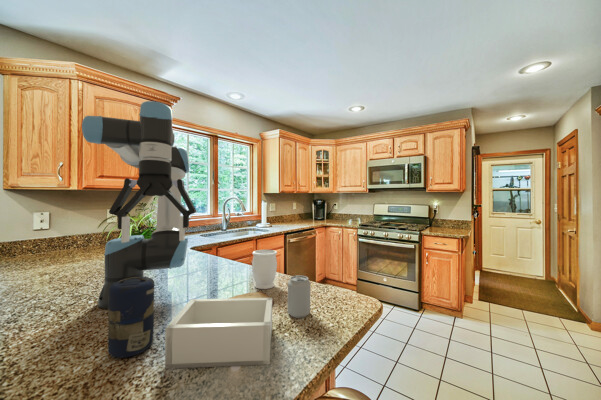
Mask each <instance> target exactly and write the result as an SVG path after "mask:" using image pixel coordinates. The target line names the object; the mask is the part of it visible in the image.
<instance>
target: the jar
mask: <svg viewBox="0 0 601 400" xmlns="http://www.w3.org/2000/svg"><path fill="white" fill-rule="evenodd" d="M277 254H278V251H277V250H274V249H258V250H253V251H252V255H253V256H252V263H251V269H252V275H253V281H254V282H255V283H254V285H253V286H254V288H256V289H259V290H268V289H271V288H274V287H275V283H274V282H275V279H276V275H277V269H278V260H277Z"/></svg>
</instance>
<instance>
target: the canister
mask: <svg viewBox="0 0 601 400" xmlns="http://www.w3.org/2000/svg"><path fill="white" fill-rule="evenodd" d="M107 310H108V313H107V315H108V316H107V320H108V324H107V325H108V326H107V331H108V332H107V333H108V334H107V338H108V339H107V351H108V352H107V353H108V355H110V356H111V357H113V358H121V359H124V358H129V357H133V356H136V355H139V354H140V353H143V352H144V351H146V350H147V349H148V348H149V347H150V346H151V345H152V344H153V342H154V327H155V326H154V325H155V281H154V279H153V278H152V277H148V276H143V277H131V278H127V279H123V280H120V281H117V282H115V283H113V284H112V285H111V286H110V288H109V304H108V309H107Z"/></svg>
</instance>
